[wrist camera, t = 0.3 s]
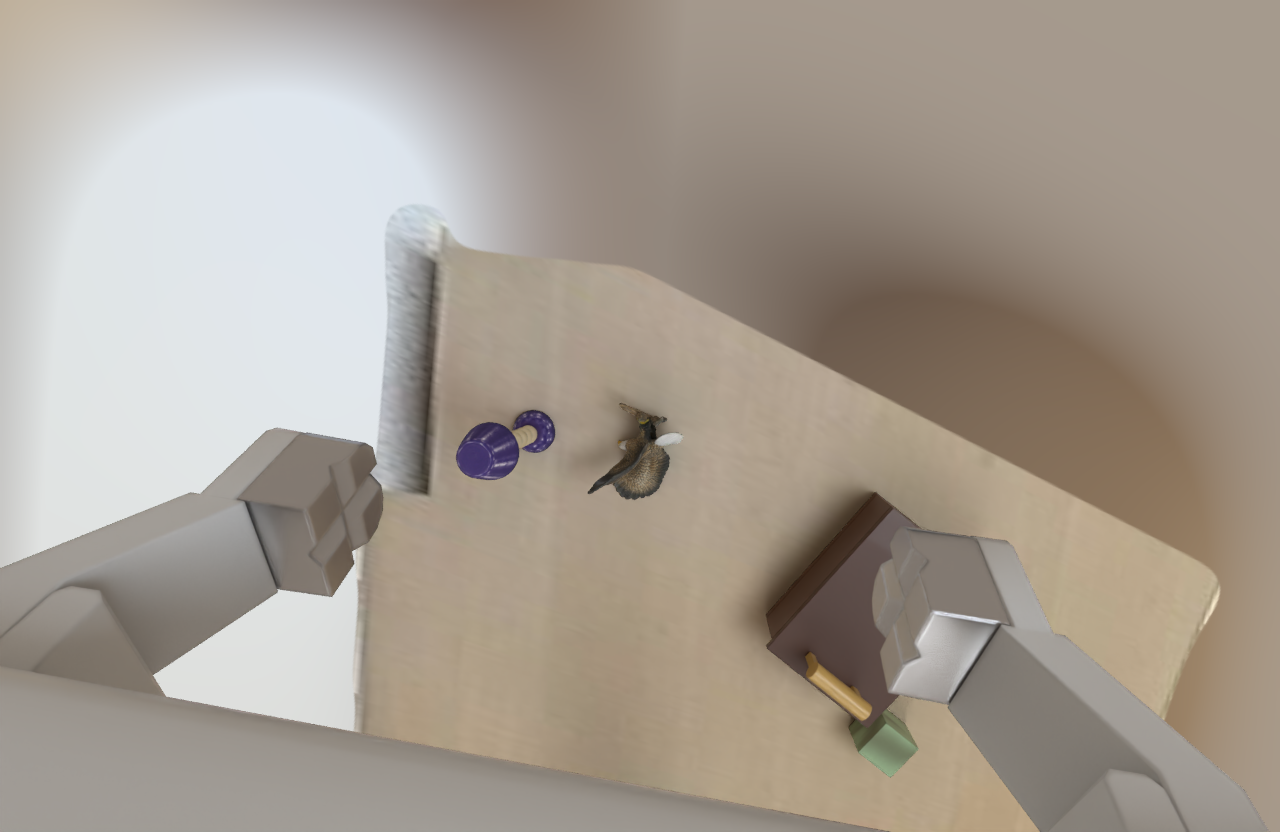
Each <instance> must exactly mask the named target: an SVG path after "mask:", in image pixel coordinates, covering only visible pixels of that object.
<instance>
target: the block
mask: <svg viewBox="0 0 1280 832" xmlns="http://www.w3.org/2000/svg"><path fill="white" fill-rule="evenodd" d="M849 730H850V732H851V735H852V737H853V740H854V743H855V745H856V748H857V750H858V752H859V753H860V754H861V755H862V756H864V757H865V758H866V759H867V760H869V761H870V762H871V763H872V764H874V765H875V766H876V767H877V768H879V769H880V770H881V771H882V772H884V773H885V774H886V775H887V776H889V777H890V778H891V777H892V776H893V775H894V774H895V773H896V772H897V771H898V770H899V769H900V768H901V767H902V766H903V765H904V764H905V763H906V761H907V760H908V759H909V758H910V757H911V756H912V755H913V754H914V753H915V752H916V751H917V750H918V747H917V745H916V743H915V741H914V739H913V738H912V736H911V734H910V732H909V730H908V728H907V726H906V725H905V724H904V723H903V722H902V721H901V720H899V719H898V718H897V717H896V716H894V715H893V714H892V713H891V712H889V711H888V710H887V709H886V710H885V711H884V712H883V713H882V714H881V715H880V716H879V717H878V718H877V719H876V720H875V721H874V722H873V723H872V724H871V725H870V726H869V727H868V728H866V727H865V726H864V725H862V724H861V723H860V722H859V721H857V720H855V721H854V722H853V723H852V724H851V725H850V726H849Z"/></svg>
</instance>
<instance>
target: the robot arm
mask: <svg viewBox="0 0 1280 832" xmlns="http://www.w3.org/2000/svg"><path fill="white" fill-rule="evenodd" d="M376 464H377V463H376V459H375V455H374V451H373V447H371V446H369V445H368V444H366V443H362V442H357V441H351V440H346V439H340V438H334V437H328V436H323V435H318V434H312V433H303V432H297V431H292V430H287V429H281V428H274V429H271V430H268V431H266V432H265V433H264V434H263V435H262V436H260V437H259V438H258V439H257V440H256V441H255V442H254V443H253V444H252V445H251V446H250V447H249V448H248V449H247V450H246V451H245V452H244V453H243V454H241V456H239V457H238V458H237V459H236V460H235V461H234V462H233V463H232V464H231V465H230V466H229V467H228V468H227V469H226V470H225V471H224V472H223V473H222V474H221V475H219V476H218V477H217V478H216V479H215V480H214V481H213V482H212V483H211V484H210V485H209V486H208V487H207V488H206V489H205V490H204V491H203V492H202V493H201V494H197V493H188V494H185V495H183V496H180V497H178V498H175V499H173V500H170V501H168V502H165V503H163V504H160V505H158V506H155V507H153V508H150V509H148V510H145V511H143V512H140V513H138V514H135V515H133V516H130V517H128V518H125V519H122V520H120V521H117V522H115V523H112V524H110V525H107V526H105V527H102V528H100V529H98V530H96V531H92V532H90V533H87V534H85V535H82V536H80V537H77V538H75V539H72V540H70V541H67V542H65V543H62V544H60V545H58V546H55V547H52V548H50V549H47V550H45V551H43V552H40V553H38V554H35V555H32V556H30V557H27V558H25V559H22V560H20V561H17V562H15V563H12V564H10V565H7V566H5V567H2V568H0V832H889V831H883V830H878V829H873V828H867V827H862V826H857V825H851V824H846V823H840V822H835V821H830V820H824V819H819V818H814V817H808V816H803V815H797V814H792V813H787V812H781V811H776V810H771V809H765V808H760V807H754V806H749V805H744V804H738V803H733V802H728V801H722V800H717V799H711V798H706V797H701V796H695V795H690V794H685V793H679V792H674V791H669V790H663V789H658V788H653V787H647V786H642V785H637V784H631V783H626V782H621V781H615V780H610V779H605V778H599V777H594V776H588V775H583V774H578V773H572V772H567V771H562V770H556V769H551V768H546V767H540V766H535V765H530V764H524V763H519V762H514V761H508V760H503V759H498V758H492V757H487V756H482V755H476V754H471V753H465V752H460V751H455V750H449V749H444V748H439V747H433V746H428V745H423V744H417V743H412V742H406V741H401V740H396V739H390V738H385V737H380V736H374V735H369V734H364V733H358V732H353V731H347V730H342V729H336V728H331V727H325V726H320V725H315V724H310V723H304V722H298V721H294V720H288V719H283V718H277V717H272V716H267V715H261V714H256V713H250V712H245V711H240V710H234V709H229V708H224V707H218V706H213V705H208V704H202V703H197V702H192V701H186V700H180V699H176V698H170V697H166V696H165V694H164V693H163V691H162V689H161V688H160V686H159V685H158V683H157V682H156V680H155V678H154V677H153V675H154V674H155V673H157V672H158V671H160V670H161V669H163V668H164V667H166V666H167V665H169V664H170V663H171V662H173V661H175V660H176V659H178V658H179V657H181V656H182V655H184V654H185V653H187V652H188V651H190V650H192V649H193V648H195V647H196V646H198V645H199V644H201V643H202V642H203V641H205V640H207V639H208V638H210V637H211V636H213V635H214V634H216V633H217V632H219V631H220V630H222V629H223V628H225V627H226V626H228V625H229V624H231V623H232V622H234V621H235V620H237V619H238V618H240V617H241V616H243V615H244V614H246V613H247V612H249V611H250V610H252V609H253V608H255V607H256V606H258V605H259V604H261V603H262V602H264V601H265V600H267V599H268V598H270V597H271V596H273V595H274V594H276V593H277V592H278V590H277V589H280V590H287V591H295V592H301V593H308V594H316V595H322V596H329V597H332V596H333V595H334V593H335V591H336V590H337V589H338V587H339V586H340V584H341V583H342V581H343V580H344V578H345V577H346V575H347V574H348V572H349V571H350V569H351V567H352V566H353V565H354V560H353V555H352V551H353V550H355V549H357V548H359V547H361V546H362V545H364V544H366V543H368V542H369V541H370V539H371V537H372V536H373V534H374V533H375V531H376V529H377V527H378V524H379V521H380V518H381V515H382V511H383V493H382V487H381V485H380V483H379V482H378V481H377V480H376V479H375V478H374V477H373V476H372V475H371V474H370V472H371V471H372V470H373V468H374V467H375V465H376ZM890 548H891V553H892V557H893V558H892V559H890V560H888V561H886V562H885V563H883V564H881V565H880V568H879V570H878V573H877V575H876V578H875V581H874V588H873V594H872V612H873V618H874V624H875V627H876V628H877V629H878V630H879V631H880V632H881V633H882V635H883V636H884V637H885V638H886V640H885V642H884V644H883V646H882V648H881V651H880V656H881V661H882V666H883V671H884V676H885V681H886V686H887V691H888V693H892V694H897V695H902V696H907V697H912V698H917V699H922V700H927V701H932V702H937V703H942V704H947V705H949V706H948V707H947V708H948V709H949V710H950V712H951V713H952V714H953V716H954V717H955V718H956V720H957V721H958V722H959V724H960V725H961V726H962V728H963V729H964V730H965V732H966V733H967V734H968V736H969V737H970V738H971V740H972V741H973V742H974V744H975V745H976V746H977V748H978V749H979V750H980V752H981V753H982V754H983V756H984V757H985V758H986V760H987V761H988V762H989V764H990V765H991V766H992V768H993V769H994V770H995V772H996V773H997V775H998V776H999V777H1000V779H1001V780H1002V781H1003V783H1004V784H1005V785H1006V787H1007V788H1008V789H1009V791H1010V792H1011V793H1012V795H1013V796H1014V797H1015V799H1016V800H1017V801H1018V803H1019V804H1020V805H1021V807H1022V808H1023V809H1024V811H1025V812H1026V813H1027V815H1028V816H1029V817H1030V819H1031V820H1032V821H1033V823H1034V824H1035V825H1036V827H1037V828H1038V829H1039V831H1040V832H1269V830H1268V829H1267V827H1266V825H1265V824H1264V822H1263V820H1262V819H1261V817H1260V815H1259V814H1258V812H1257V810H1256V809H1255V807H1254V805H1253V804H1252V802H1251V800H1250V798H1249V797H1248V795H1247V794H1246V792H1245V790H1244V789H1243V788H1242V787H1240V786H1239V785H1238V784H1237V783H1236V782H1234V781H1233V780H1232V779H1231V778H1230V777H1229V776H1228V775H1226V774H1225V773H1224V772H1223V771H1222V770H1221V769H1219V768H1218V767H1217V766H1216V765H1215V764H1214V763H1212V762H1211V761H1210V760H1209V759H1208V758H1207V757H1206V756H1204V755H1203V754H1202V753H1201V752H1200V751H1198V750H1197V749H1196V748H1195V747H1194V746H1193V745H1192V744H1190V743H1189V742H1188V741H1187V740H1186V739H1185V738H1183V737H1182V736H1181V735H1180V734H1179V733H1178V732H1176V731H1175V730H1174V729H1173V728H1172V727H1171V726H1170V725H1168V724H1167V723H1166V722H1165V721H1164V720H1163V719H1161V718H1160V717H1159V716H1158V715H1157V714H1156V713H1154V712H1153V711H1152V710H1151V709H1150V708H1149V707H1147V706H1146V705H1145V704H1144V703H1143V702H1142V701H1140V700H1139V699H1138V698H1137V697H1136V696H1135V695H1133V694H1132V693H1131V692H1130V691H1129V690H1128V689H1127V688H1125V687H1124V686H1123V685H1122V684H1121V683H1120V682H1118V681H1117V680H1116V679H1115V678H1114V677H1113V676H1111V675H1110V674H1109V673H1108V672H1107V671H1106V670H1104V669H1103V668H1102V667H1101V666H1100V665H1099V664H1097V663H1096V662H1095V661H1094V660H1093V659H1092V658H1090V657H1089V656H1088V655H1087V654H1086V653H1085V652H1083V651H1082V650H1081V649H1080V648H1079V647H1078V646H1077V645H1075V644H1074V643H1073V642H1072V641H1071V640H1070V639H1068V638H1067V637H1066V636H1065V635H1059V634H1054V633H1053V631H1052V629H1051V627H1050V625H1049V622H1048V620H1047V618H1046V616H1045V614H1044V612H1043V609H1042V607H1041V605H1040V603H1039V601H1038V599H1037V597H1036V594H1035V592H1034V590H1033V588H1032V586H1031V584H1030V581H1029V579H1028V577H1027V575H1026V573H1025V571H1024V568H1023V566H1022V564H1021V562H1020V560H1019V558H1018V556H1017V553H1016V551H1015V549H1014V547H1013V546H1012V545H1011V544H1010V543H1009V542H1008V541H1005V540H997V539H990V538H983V537H976V536H970V537H969V536H965V535H958V534H951V533H945V532H938V531H931V530H924V529H917V528H911V527H904V526H901V527H900V528H899V529H898V530H897V531H896V532H895V534H894V536H893V538H892V540H891V542H890Z"/></svg>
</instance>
